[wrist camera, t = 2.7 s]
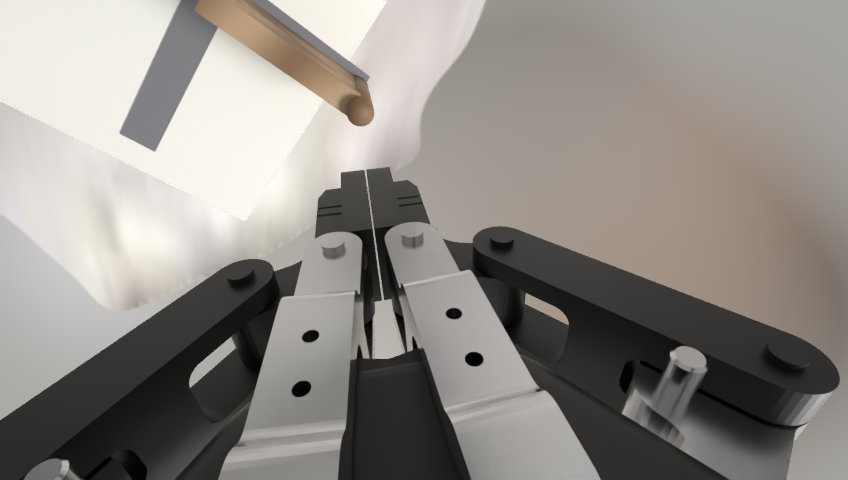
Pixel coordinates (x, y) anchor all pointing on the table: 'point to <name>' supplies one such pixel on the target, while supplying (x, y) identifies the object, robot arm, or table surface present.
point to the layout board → (172, 85)
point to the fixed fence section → (291, 55)
